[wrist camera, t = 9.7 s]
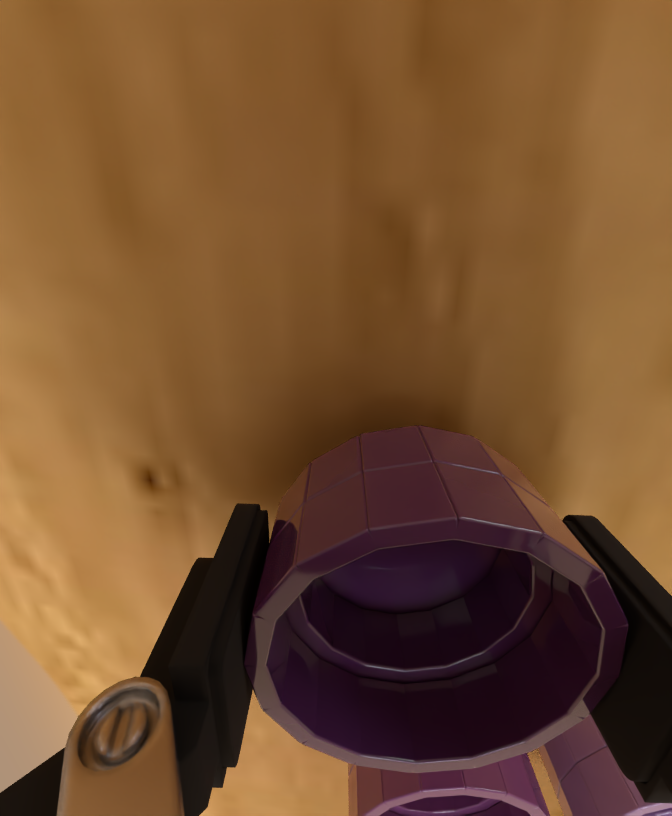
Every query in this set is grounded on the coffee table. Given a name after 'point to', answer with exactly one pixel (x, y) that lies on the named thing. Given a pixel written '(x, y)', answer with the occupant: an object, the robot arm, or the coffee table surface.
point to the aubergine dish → (427, 608)
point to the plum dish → (448, 791)
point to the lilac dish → (592, 776)
